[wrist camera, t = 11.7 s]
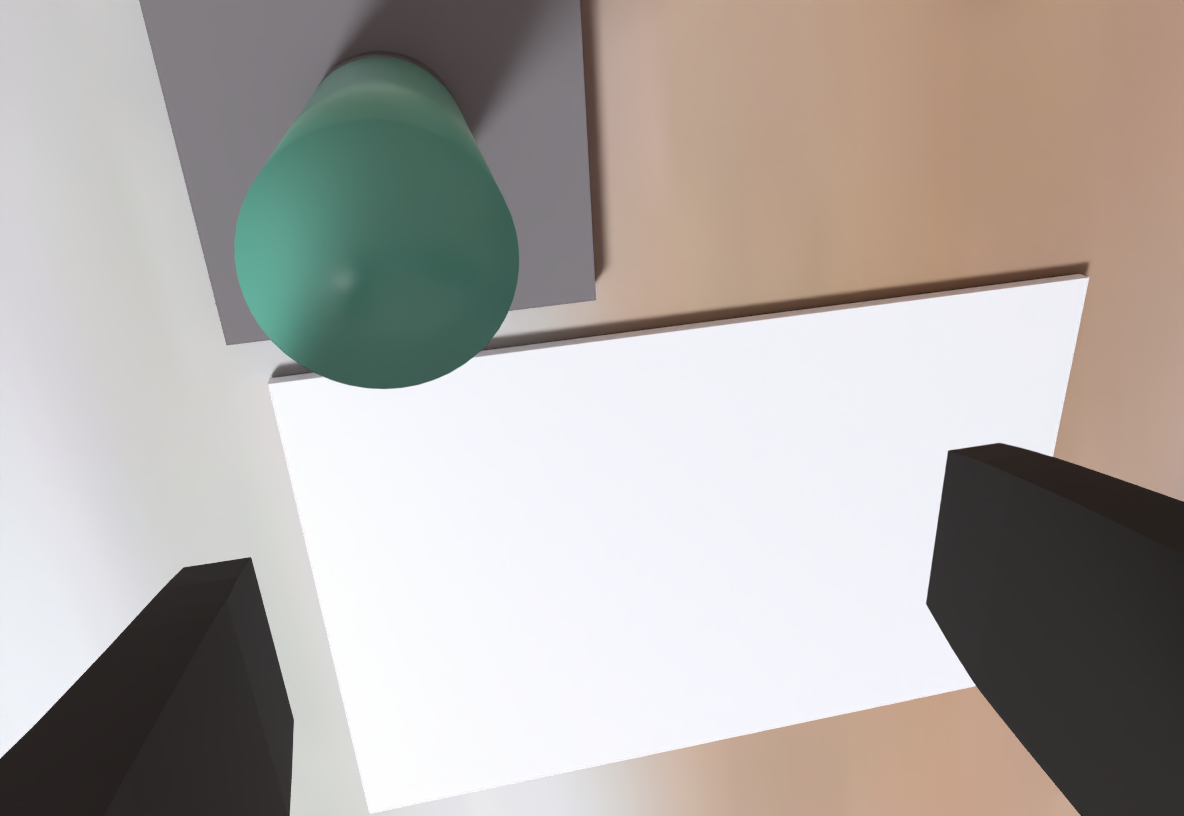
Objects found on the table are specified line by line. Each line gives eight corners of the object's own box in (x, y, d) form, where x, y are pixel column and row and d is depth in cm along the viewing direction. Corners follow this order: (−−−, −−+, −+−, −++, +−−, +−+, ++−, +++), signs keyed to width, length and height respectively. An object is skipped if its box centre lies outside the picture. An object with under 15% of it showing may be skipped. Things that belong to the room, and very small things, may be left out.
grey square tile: (567, -105, 15) (574, -108, 14) (589, 290, 18) (596, 300, 18) (127, -85, 14) (116, -88, 13) (231, 333, 17) (227, 345, 16)
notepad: (1079, 273, 20) (1089, 277, 20) (1001, 672, 26) (1007, 679, 25) (269, 378, 17) (267, 384, 17) (369, 804, 23) (369, 813, 22)
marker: (453, 45, 15) (507, 108, 8) (469, 199, 16) (529, 372, 9) (295, 55, 15) (203, 131, 8) (323, 212, 16) (267, 404, 9)
